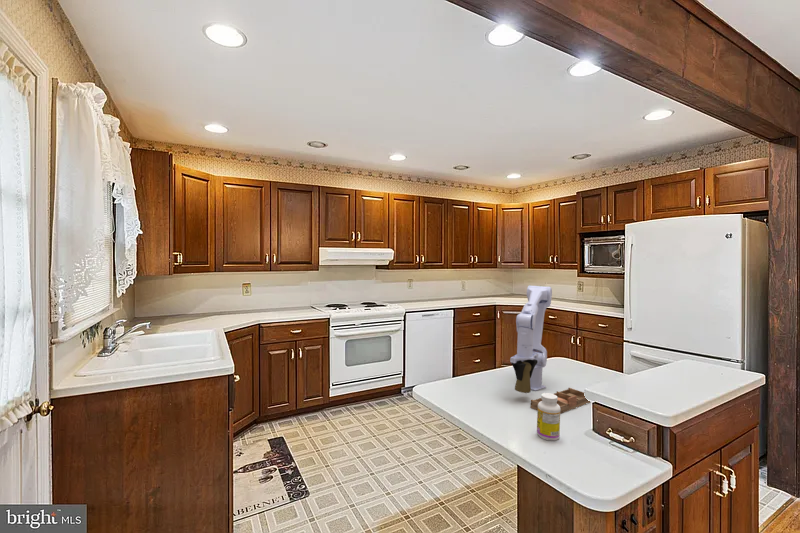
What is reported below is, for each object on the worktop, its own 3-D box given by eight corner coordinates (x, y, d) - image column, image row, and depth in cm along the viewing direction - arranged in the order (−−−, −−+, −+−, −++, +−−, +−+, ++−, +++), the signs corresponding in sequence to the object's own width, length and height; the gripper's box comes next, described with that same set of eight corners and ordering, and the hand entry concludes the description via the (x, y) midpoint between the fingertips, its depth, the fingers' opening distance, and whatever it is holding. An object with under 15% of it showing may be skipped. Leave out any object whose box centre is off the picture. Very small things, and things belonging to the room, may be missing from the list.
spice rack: (530, 407, 136) (530, 395, 136) (568, 394, 150) (569, 383, 150) (552, 416, 129) (552, 404, 129) (590, 402, 143) (591, 390, 143)
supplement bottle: (538, 429, 119) (540, 390, 119) (560, 434, 116) (562, 394, 116) (534, 437, 113) (536, 396, 113) (557, 443, 110) (559, 401, 110)
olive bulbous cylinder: (531, 393, 140) (534, 365, 140) (515, 391, 141) (517, 363, 141) (529, 388, 146) (531, 361, 146) (513, 386, 147) (515, 359, 147)
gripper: (521, 348, 136) (520, 384, 136) (545, 344, 144) (543, 378, 144) (506, 344, 142) (505, 379, 142) (529, 340, 150) (528, 373, 150)
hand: (523, 378), depth 144 cm, fingers closed on olive bulbous cylinder, 5 cm apart
